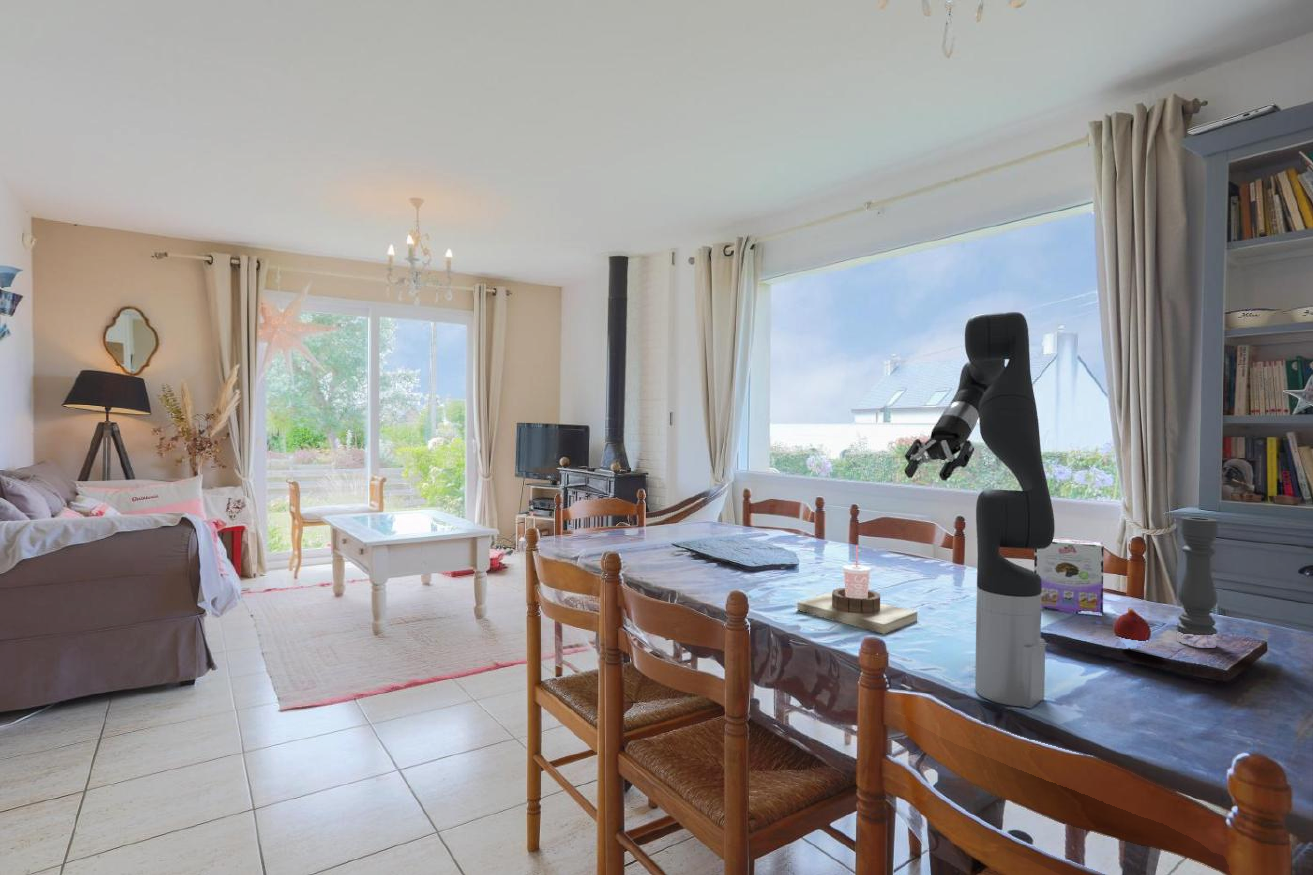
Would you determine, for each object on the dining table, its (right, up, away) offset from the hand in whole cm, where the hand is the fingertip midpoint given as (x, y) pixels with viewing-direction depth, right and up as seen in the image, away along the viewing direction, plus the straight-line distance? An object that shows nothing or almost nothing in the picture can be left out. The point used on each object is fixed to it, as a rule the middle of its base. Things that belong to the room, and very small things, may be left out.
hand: (924, 476), depth 146 cm
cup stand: (-14, -32, +4) cm, 35 cm away
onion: (+33, -33, -18) cm, 50 cm away
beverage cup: (-14, -30, +4) cm, 33 cm away
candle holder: (+49, -33, -14) cm, 60 cm away
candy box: (+37, -32, +9) cm, 50 cm away
